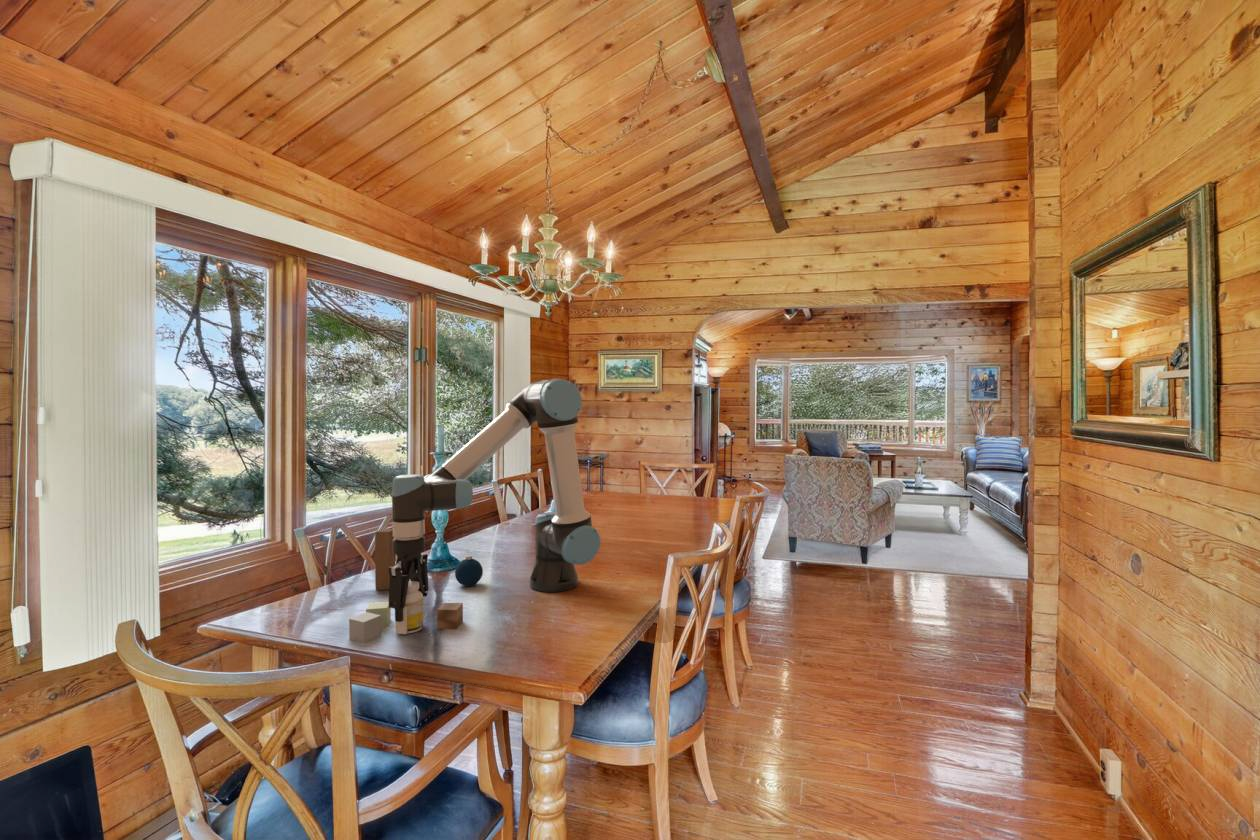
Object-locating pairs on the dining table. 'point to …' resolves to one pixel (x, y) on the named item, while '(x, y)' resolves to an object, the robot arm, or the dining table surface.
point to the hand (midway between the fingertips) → (409, 627)
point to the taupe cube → (365, 627)
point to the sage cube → (381, 611)
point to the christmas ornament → (468, 571)
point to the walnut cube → (449, 615)
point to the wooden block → (383, 558)
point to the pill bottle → (414, 607)
